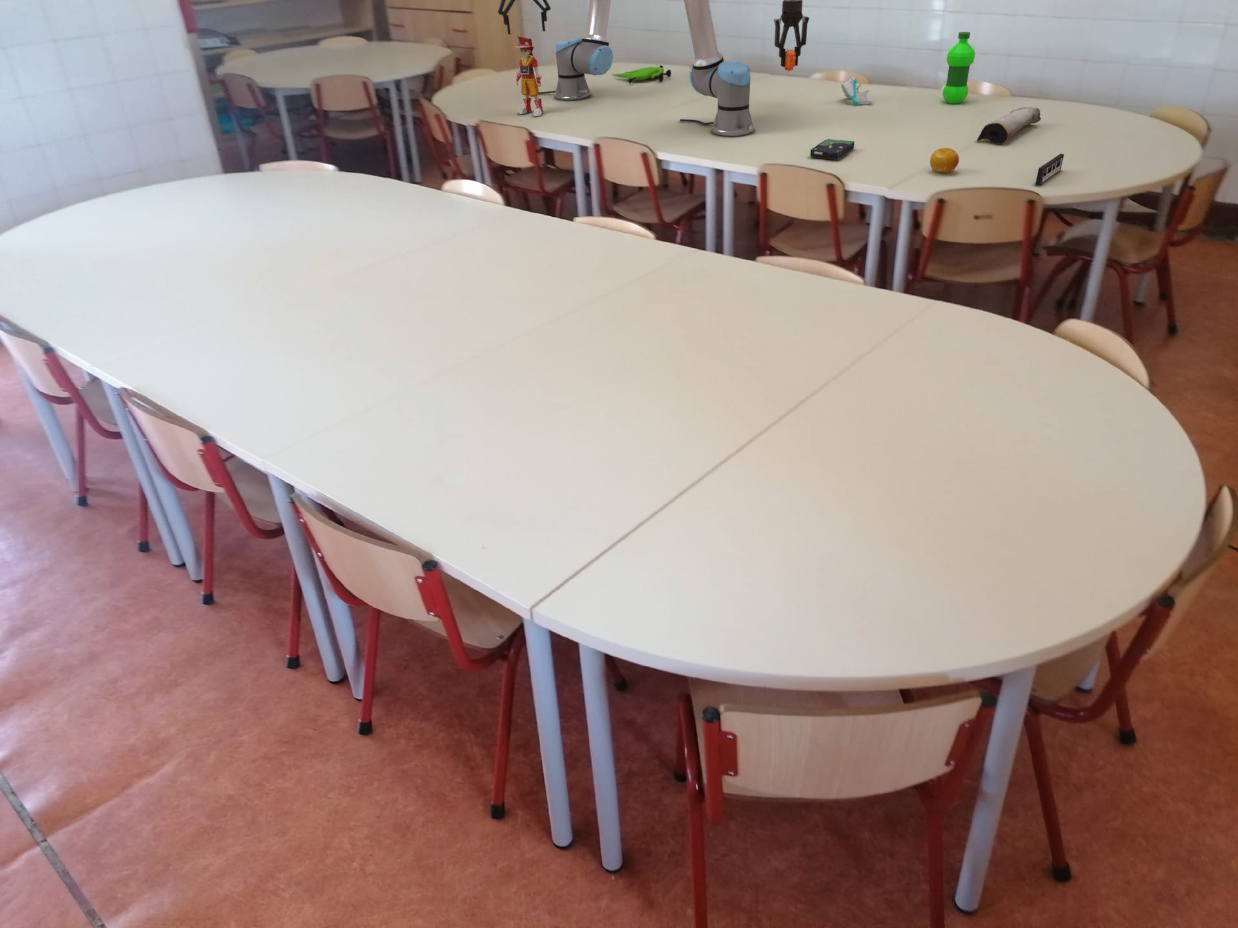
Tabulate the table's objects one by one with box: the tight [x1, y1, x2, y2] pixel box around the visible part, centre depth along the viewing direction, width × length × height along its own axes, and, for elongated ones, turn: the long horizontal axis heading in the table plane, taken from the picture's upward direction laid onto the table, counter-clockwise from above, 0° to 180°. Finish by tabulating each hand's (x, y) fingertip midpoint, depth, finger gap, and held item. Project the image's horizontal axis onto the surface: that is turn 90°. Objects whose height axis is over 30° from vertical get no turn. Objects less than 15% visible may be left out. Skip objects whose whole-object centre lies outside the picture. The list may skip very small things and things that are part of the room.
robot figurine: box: [784, 47, 796, 72], centre depth 351 cm, size 7×5×8 cm
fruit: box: [929, 147, 960, 174], centre depth 283 cm, size 8×8×8 cm
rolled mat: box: [976, 106, 1042, 145], centre depth 314 cm, size 30×9×10 cm
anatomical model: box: [841, 76, 874, 106], centre depth 361 cm, size 15×10×10 cm
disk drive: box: [809, 138, 855, 161], centre depth 306 cm, size 10×3×15 cm
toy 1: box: [514, 35, 544, 117], centre depth 366 cm, size 12×9×30 cm
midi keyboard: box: [1035, 153, 1065, 186], centre depth 273 cm, size 18×1×5 cm, turn 138°
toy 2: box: [611, 65, 672, 84], centre depth 420 cm, size 28×5×30 cm
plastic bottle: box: [942, 31, 976, 104], centre depth 348 cm, size 10×10×25 cm
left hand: (526, 32), depth 349 cm, fingers open, 13 cm apart
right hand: (789, 65), depth 353 cm, fingers closed on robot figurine, 5 cm apart
